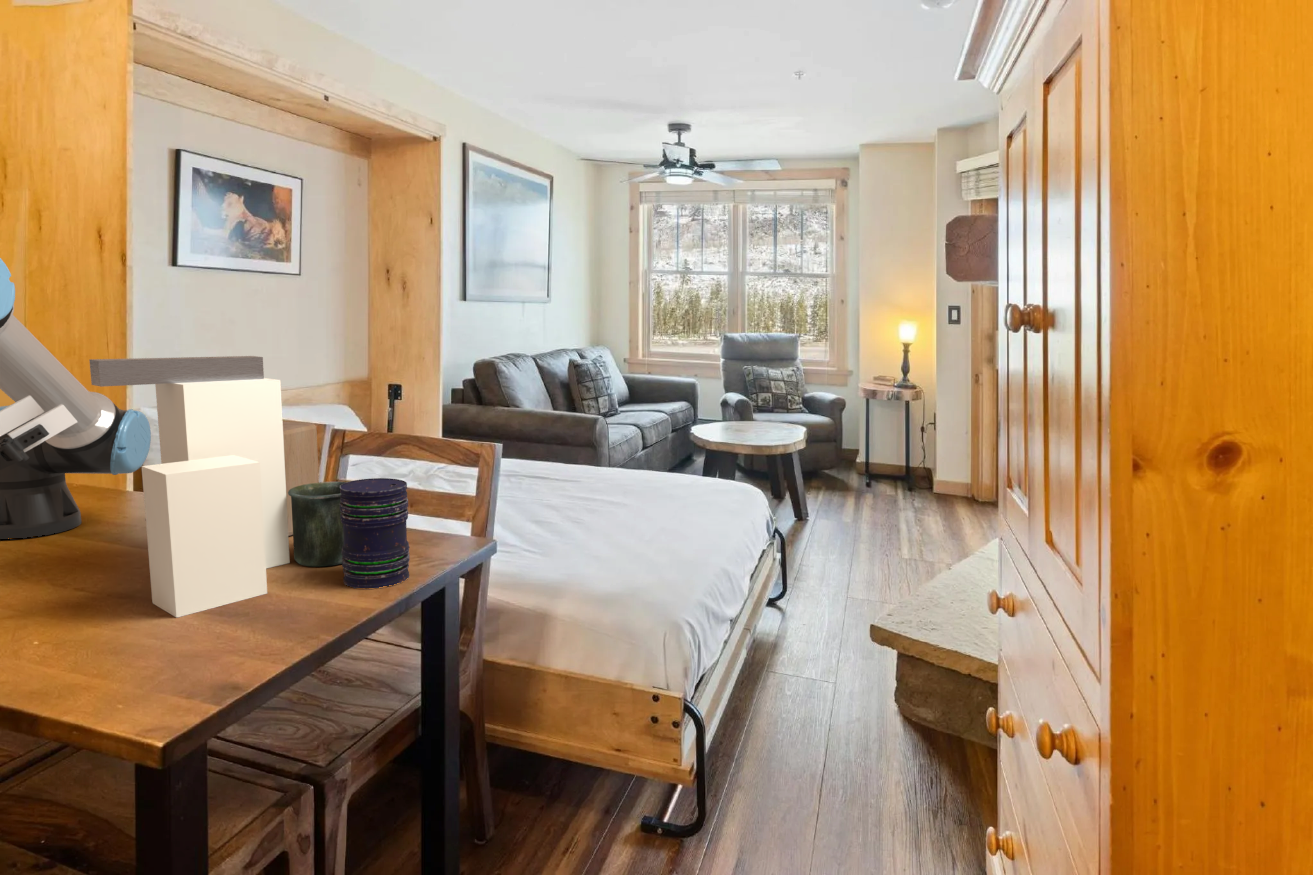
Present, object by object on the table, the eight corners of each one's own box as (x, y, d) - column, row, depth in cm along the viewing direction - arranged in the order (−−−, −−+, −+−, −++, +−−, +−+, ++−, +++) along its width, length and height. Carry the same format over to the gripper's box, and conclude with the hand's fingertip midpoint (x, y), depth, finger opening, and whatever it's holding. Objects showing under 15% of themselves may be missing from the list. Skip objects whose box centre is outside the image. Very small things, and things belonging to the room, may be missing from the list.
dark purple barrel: (335, 590, 112) (331, 492, 110) (350, 569, 122) (346, 478, 120) (405, 588, 114) (402, 491, 112) (414, 567, 124) (412, 477, 121)
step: (152, 603, 106) (141, 466, 103) (241, 581, 115) (233, 455, 112) (176, 617, 101) (165, 474, 98) (267, 593, 110) (259, 462, 107)
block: (288, 538, 137) (282, 429, 134) (240, 534, 139) (233, 426, 136) (323, 524, 147) (318, 422, 144) (277, 520, 149) (272, 419, 146)
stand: (169, 570, 119) (155, 380, 114) (260, 550, 130) (250, 376, 125) (197, 585, 113) (183, 384, 108) (289, 562, 124) (280, 380, 120)
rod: (91, 384, 105) (89, 359, 105) (253, 377, 123) (252, 355, 122) (100, 386, 103) (98, 360, 103) (263, 379, 121) (262, 357, 120)
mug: (276, 561, 125) (272, 490, 123) (349, 540, 137) (346, 475, 136) (321, 573, 120) (318, 499, 118) (392, 549, 132) (390, 482, 131)
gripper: (-127, 516, 97) (43, 421, 110) (-86, 557, 82) (105, 441, 95) (-177, 471, 93) (5, 377, 106) (-144, 505, 78) (63, 392, 91)
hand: (52, 407), depth 101 cm, fingers open, 13 cm apart
